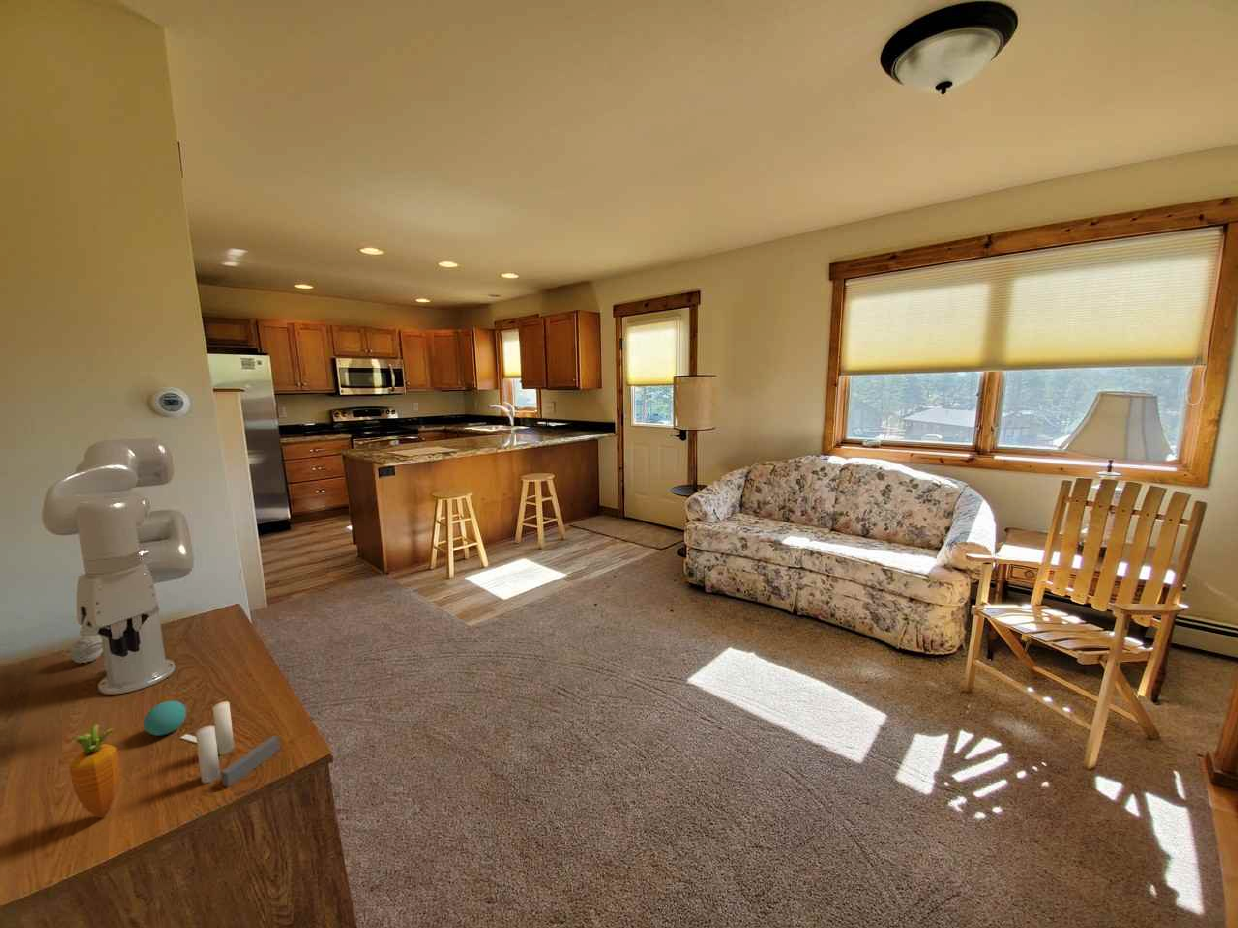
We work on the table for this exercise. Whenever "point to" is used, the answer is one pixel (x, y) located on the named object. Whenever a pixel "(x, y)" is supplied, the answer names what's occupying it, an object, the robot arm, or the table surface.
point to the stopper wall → (250, 761)
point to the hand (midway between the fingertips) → (126, 652)
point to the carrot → (95, 773)
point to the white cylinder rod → (208, 754)
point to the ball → (165, 718)
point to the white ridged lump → (86, 649)
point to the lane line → (190, 738)
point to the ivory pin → (223, 727)
